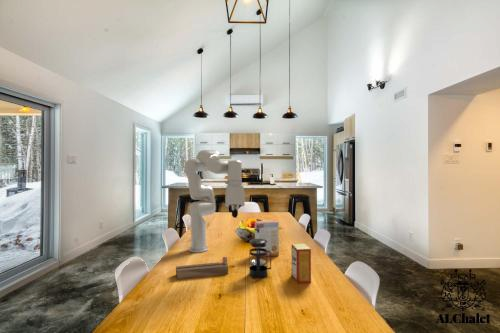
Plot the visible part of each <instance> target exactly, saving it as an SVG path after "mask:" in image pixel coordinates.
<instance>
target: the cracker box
mask: <svg viewBox="0 0 500 333" xmlns="http://www.w3.org/2000/svg"><path fill="white" fill-rule="evenodd" d="M256 228H260V229H262V230H261V231H259V239H265V240H267V243H266V246H265V247H262V248H263V249H266V250H267V251H271V257H277V256H280V241H279V240H280V238H279V233H280V232H279V230H280V228H279V221H278V220H277V219H275V220H255V221H254V229H256ZM254 239H258V233H257V231H256V230H254ZM254 253H257V251H254ZM260 253H265V252H264V251H260ZM262 257H266V258H267V257H270V252H267V255H265V256H260V258H262Z"/></svg>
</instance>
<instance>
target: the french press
mask: <svg viewBox="0 0 500 333" xmlns="http://www.w3.org/2000/svg"><path fill="white" fill-rule="evenodd" d="M253 230H254V231H255V230H256V231H257V233H258V239H255V238H252V239H250V240H249V243H250V245H251V246H252V248H250V249H249V252H248V254H249V256H248V257H249V260H248V261H249V262H248V263H249V266H248V267H249V270H248V271H249V272H248V276H249V277H251V278H252V279H264V278H266V277H268V275H269V274H268V270H272V256H271V251H267V250H266V249H263V248H262V247H265V246H266V243H267V240H265V239H259V231H261V230H262V229H260V228H256V229H255V228H253ZM255 251H257V253H255ZM260 251H264V252H265V253H260ZM267 252H270V256H269V263H270V264H269V267H268V266H267V264H268V260H265V259H262V258H261V257H260V256H265V255H267ZM251 256H253V257H256V258H255V259H251Z"/></svg>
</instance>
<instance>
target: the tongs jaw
mask: <svg viewBox="0 0 500 333" xmlns="http://www.w3.org/2000/svg"><path fill="white" fill-rule="evenodd" d="M220 262H221V261H220ZM220 262H219V261H216V262H209V263H207V262H206V263H197V264H187V265H179V266H177V265H176V266H175V276H176V277H177V269H184V268H194V267H204V266H214V265H220Z"/></svg>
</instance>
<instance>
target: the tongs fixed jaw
mask: <svg viewBox="0 0 500 333" xmlns="http://www.w3.org/2000/svg"><path fill="white" fill-rule="evenodd" d="M222 262H223V261H222ZM228 264H229V263H228V261H227V262H223V265H214V266H204V267H194V268H184V269H177V276H176V280H184V279H192V278H193V279H194V278H202V277H203V278H204V277H212V276H219V275H220V276H222V275H228V274H229V265H228Z"/></svg>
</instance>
